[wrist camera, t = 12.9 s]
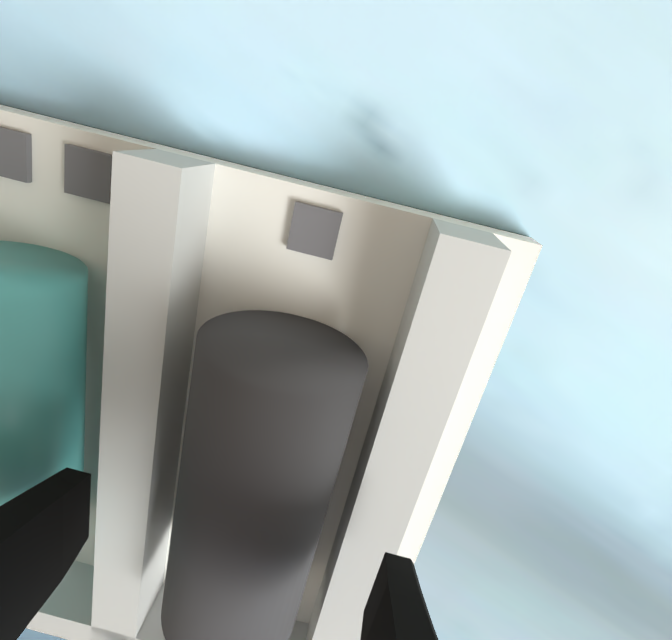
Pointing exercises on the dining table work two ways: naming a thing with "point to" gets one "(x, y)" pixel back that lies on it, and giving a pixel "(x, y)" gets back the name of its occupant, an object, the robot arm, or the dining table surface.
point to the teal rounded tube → (41, 364)
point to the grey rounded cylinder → (256, 472)
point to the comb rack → (239, 295)
